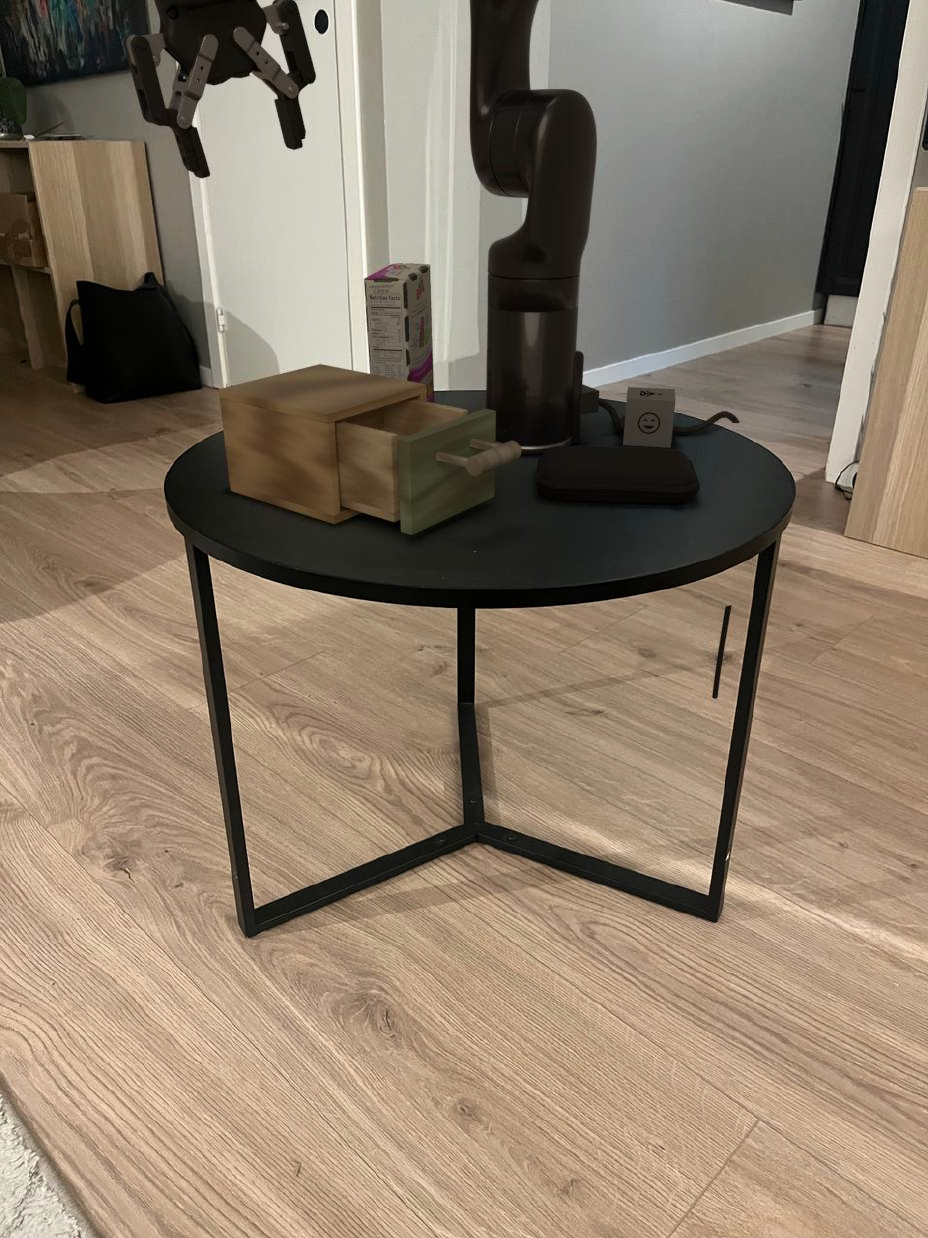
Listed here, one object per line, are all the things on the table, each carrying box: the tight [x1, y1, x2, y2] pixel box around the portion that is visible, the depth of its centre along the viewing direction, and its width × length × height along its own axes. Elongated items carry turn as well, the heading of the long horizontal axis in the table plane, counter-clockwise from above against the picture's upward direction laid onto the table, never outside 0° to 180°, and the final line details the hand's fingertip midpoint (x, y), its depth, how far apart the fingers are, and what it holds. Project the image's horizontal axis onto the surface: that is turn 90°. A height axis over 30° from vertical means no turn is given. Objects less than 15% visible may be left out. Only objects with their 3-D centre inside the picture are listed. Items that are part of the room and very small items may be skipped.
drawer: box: [334, 398, 522, 536], centre depth 81 cm, size 17×11×8 cm, turn 52°
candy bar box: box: [363, 262, 435, 403], centre depth 107 cm, size 11×5×16 cm, turn 168°
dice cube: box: [622, 386, 676, 449], centre depth 102 cm, size 5×5×5 cm
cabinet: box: [218, 363, 427, 525], centre depth 87 cm, size 14×13×10 cm
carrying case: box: [535, 445, 701, 505], centre depth 89 cm, size 11×3×15 cm
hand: (249, 161), depth 79 cm, fingers open, 8 cm apart
